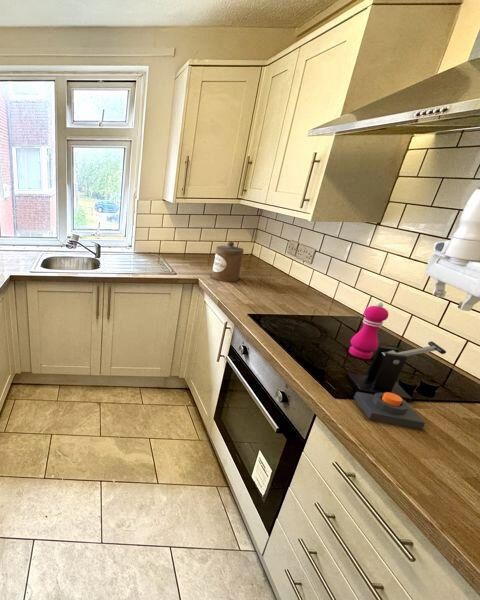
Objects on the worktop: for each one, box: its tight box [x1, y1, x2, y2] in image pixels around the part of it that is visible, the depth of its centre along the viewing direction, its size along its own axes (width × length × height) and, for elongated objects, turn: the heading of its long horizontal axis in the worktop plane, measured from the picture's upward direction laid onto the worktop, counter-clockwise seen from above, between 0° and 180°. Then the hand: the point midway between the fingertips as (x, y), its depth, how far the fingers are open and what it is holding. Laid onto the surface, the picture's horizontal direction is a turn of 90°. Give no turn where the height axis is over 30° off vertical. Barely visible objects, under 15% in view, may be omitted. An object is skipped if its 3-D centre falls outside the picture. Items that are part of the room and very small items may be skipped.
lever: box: [382, 340, 447, 359], centre depth 88 cm, size 12×5×2 cm, turn 71°
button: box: [382, 392, 402, 406], centre depth 83 cm, size 4×4×2 cm
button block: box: [353, 391, 426, 430], centre depth 84 cm, size 11×9×4 cm
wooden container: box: [211, 241, 244, 282], centre depth 187 cm, size 15×15×22 cm
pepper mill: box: [348, 301, 389, 360], centre depth 108 cm, size 7×7×20 cm
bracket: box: [346, 345, 413, 403], centre depth 92 cm, size 12×9×13 cm
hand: (450, 302), depth 82 cm, fingers open, 8 cm apart
